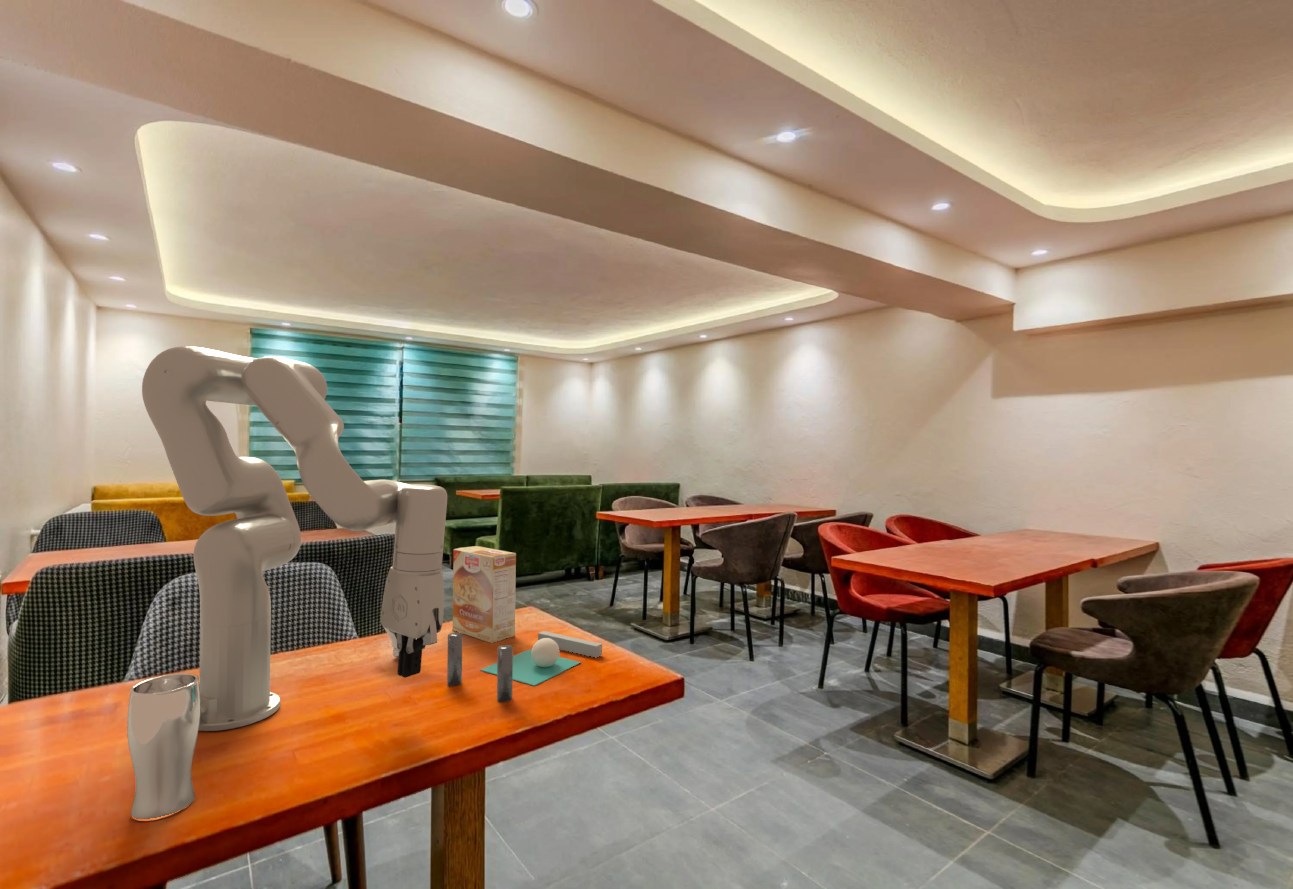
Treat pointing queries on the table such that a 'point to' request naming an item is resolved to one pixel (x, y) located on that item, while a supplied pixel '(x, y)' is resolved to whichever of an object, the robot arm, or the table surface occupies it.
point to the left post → (454, 659)
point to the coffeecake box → (484, 593)
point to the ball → (545, 652)
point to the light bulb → (393, 643)
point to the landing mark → (533, 669)
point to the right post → (504, 673)
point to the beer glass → (163, 742)
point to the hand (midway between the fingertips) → (408, 673)
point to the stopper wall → (574, 644)
